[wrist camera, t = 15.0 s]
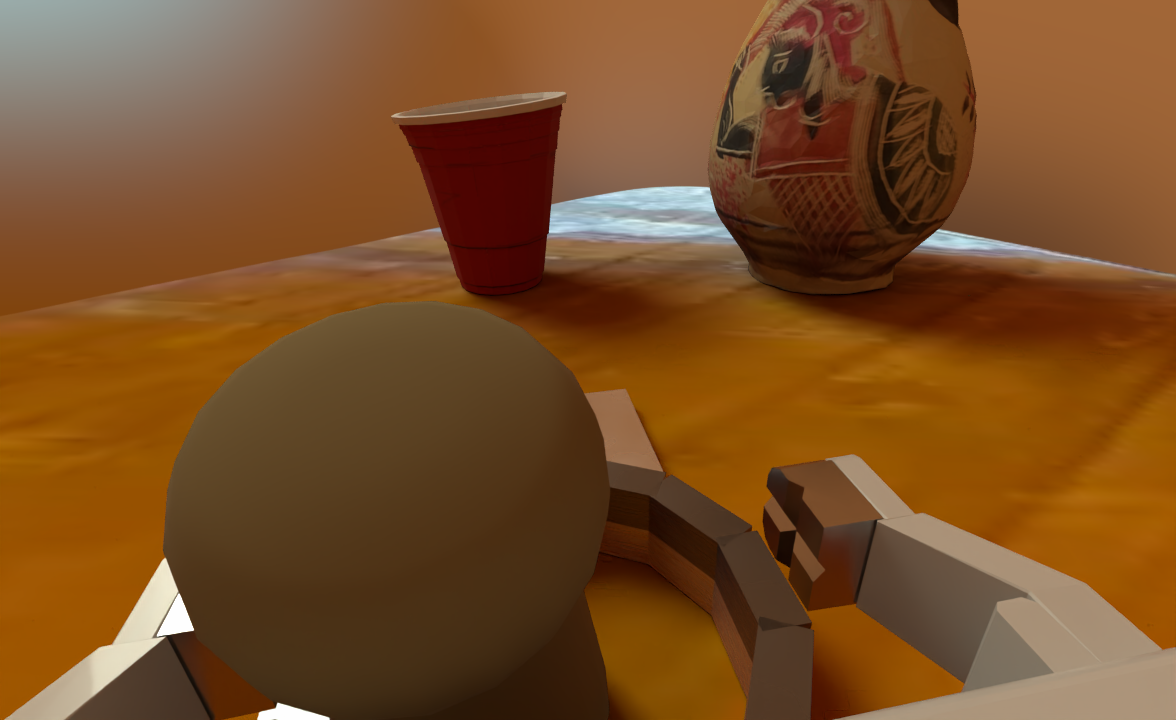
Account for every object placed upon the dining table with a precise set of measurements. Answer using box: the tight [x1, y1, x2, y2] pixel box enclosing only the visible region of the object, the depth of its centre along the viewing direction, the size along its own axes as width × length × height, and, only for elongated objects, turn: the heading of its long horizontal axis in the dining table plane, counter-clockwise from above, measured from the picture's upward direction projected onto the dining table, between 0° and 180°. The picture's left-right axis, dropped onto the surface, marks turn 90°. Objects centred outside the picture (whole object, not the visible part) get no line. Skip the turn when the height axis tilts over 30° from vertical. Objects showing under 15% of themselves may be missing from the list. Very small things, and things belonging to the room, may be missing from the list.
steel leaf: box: [585, 389, 752, 720], centre depth 18 cm, size 12×19×1 cm, turn 10°
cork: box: [163, 301, 610, 720], centre depth 10 cm, size 6×6×11 cm
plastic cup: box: [391, 92, 567, 295], centre depth 40 cm, size 11×11×12 cm
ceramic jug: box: [708, 0, 977, 296], centre depth 34 cm, size 17×15×30 cm
